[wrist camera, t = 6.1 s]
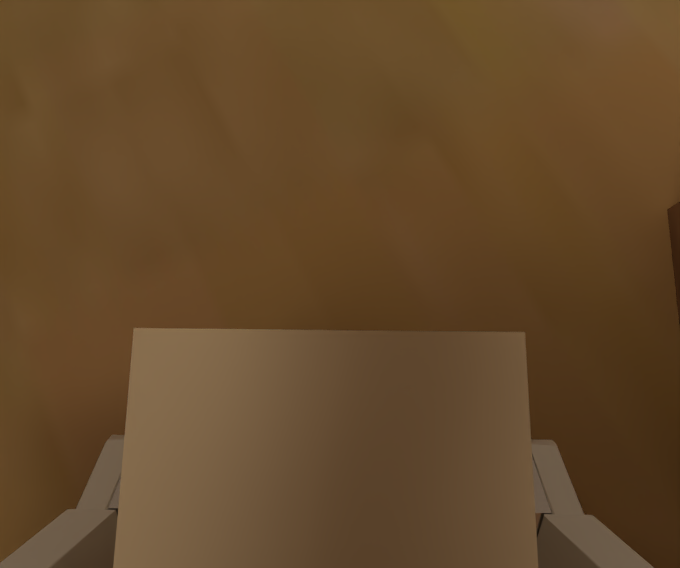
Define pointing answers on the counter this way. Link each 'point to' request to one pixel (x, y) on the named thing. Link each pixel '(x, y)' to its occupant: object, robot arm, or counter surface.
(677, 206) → the walnut block
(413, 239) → the counter surface
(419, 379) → the oak pillar
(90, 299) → the counter surface
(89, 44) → the counter surface
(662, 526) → the counter surface
